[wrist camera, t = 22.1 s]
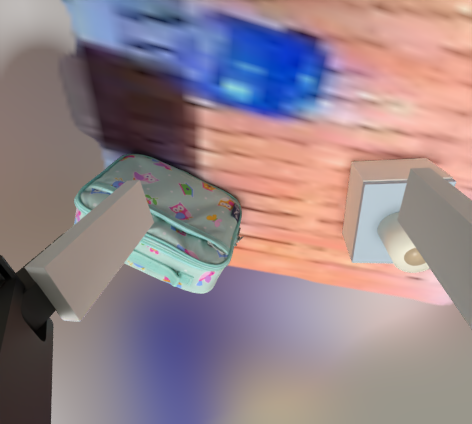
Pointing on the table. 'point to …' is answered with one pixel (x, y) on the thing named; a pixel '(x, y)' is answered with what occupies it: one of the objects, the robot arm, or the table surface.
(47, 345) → the robot arm
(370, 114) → the table surface
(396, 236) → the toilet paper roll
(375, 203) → the lid
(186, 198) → the lunch box
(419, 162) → the crate
